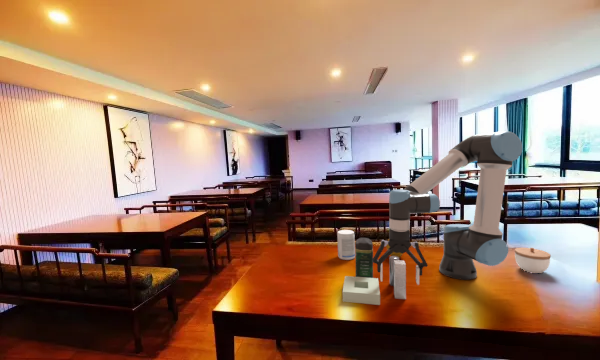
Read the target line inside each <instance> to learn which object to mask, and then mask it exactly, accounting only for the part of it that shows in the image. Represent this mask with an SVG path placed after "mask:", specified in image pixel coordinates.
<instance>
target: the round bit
mask: <svg viewBox="0 0 600 360" xmlns="http://www.w3.org/2000/svg"><path fill="white" fill-rule="evenodd" d="M388 259H389V262H388V263H389V285H390V286H391V287H394V260H400V258H399V257H396V256H391V255H389V256H388Z"/></svg>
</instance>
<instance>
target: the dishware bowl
mask: <svg viewBox="0 0 600 360" xmlns="http://www.w3.org/2000/svg"><path fill="white" fill-rule="evenodd" d="M514 259H515V262H516V264H517V265H518V267H519V268H520V269H521V270H522V269H523V270H525V271H527V272H526V273H528V272H532V273H541V274H543V272H546V271H547V270H548V269H549V266H550V263H551V253H549V252H547V251H546V250H545V251H544V250H542V249H537V248H534V247H515V249H514ZM523 270H522V271H523ZM525 271H524V272H525ZM532 273H531V274H532Z"/></svg>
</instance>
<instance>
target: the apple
mask: <svg viewBox="0 0 600 360" xmlns="http://www.w3.org/2000/svg"><path fill="white" fill-rule="evenodd" d="M387 241H389V238H388V239H387ZM385 247H386V251H387V250H388V249H389V248H390V246H389V245H388V244H387V245H386V246H385ZM403 254H404V253H395V252H393V253H392V254H390V255H389V256H396V257H399V259H400V258H401V257H402V256H403Z"/></svg>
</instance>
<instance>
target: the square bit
mask: <svg viewBox="0 0 600 360" xmlns="http://www.w3.org/2000/svg"><path fill="white" fill-rule="evenodd" d="M406 265H407V264H406V261H405V260H400V259H399V260H394V286H393V296H394V299H398V300H407V270H406V269H407V266H406Z"/></svg>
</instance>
